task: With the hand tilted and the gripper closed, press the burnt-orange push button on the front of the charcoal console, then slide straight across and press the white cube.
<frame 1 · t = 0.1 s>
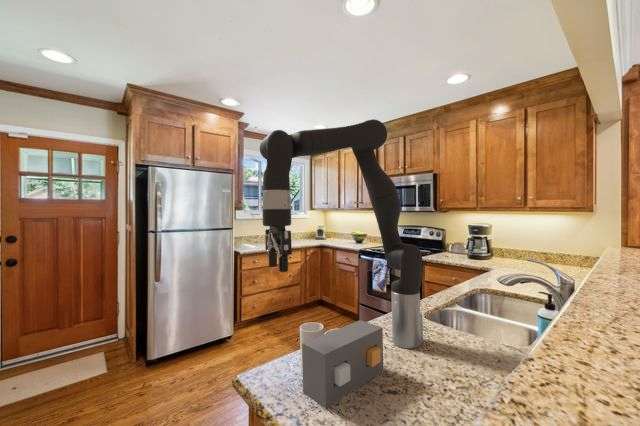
hand: (277, 269, 75), 29 cm above the countertop, tool pointing down, fingers open, 8 cm apart
orange button: (371, 355, 75), point 6 cm above the countertop, slide at 0.0 cm
ramekin: (341, 351, 90), on the countertop
console: (345, 381, 73), on the countertop
mug: (310, 367, 81), on the countertop
white cube: (339, 372, 67), point 6 cm above the countertop, slide at 0.0 cm
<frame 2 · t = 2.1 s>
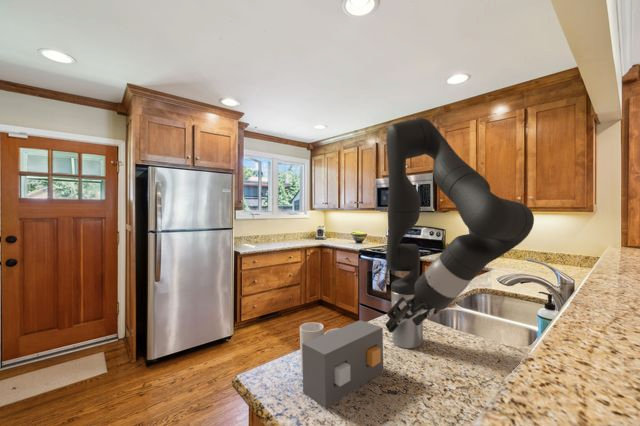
hand: (402, 325, 65), 17 cm above the countertop, tool tilted 40°, fingers open, 8 cm apart
nothing on the countertop moved.
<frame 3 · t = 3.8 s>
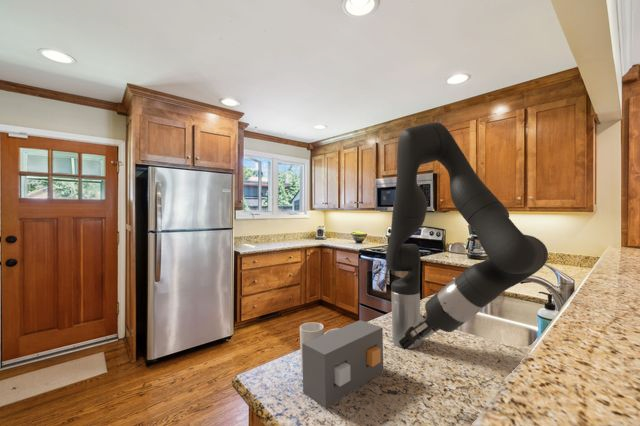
hand: (402, 345, 68), 12 cm above the countertop, tool tilted 45°, fingers closed
nothing on the countertop moved.
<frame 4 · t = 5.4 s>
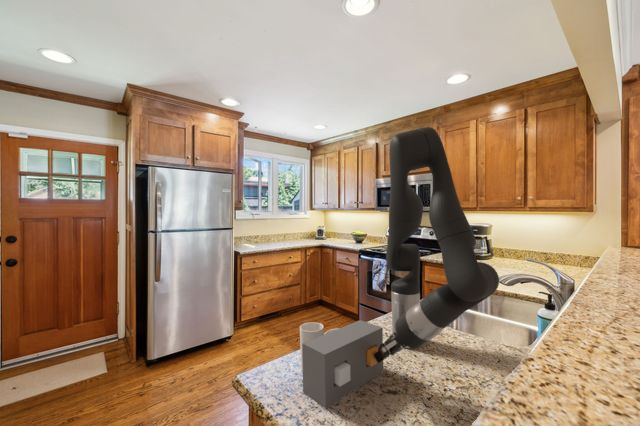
hand: (377, 358, 73), 6 cm above the countertop, tool tilted 45°, fingers closed
orange button: (369, 354, 75), point 6 cm above the countertop, slide at 0.4 cm, touching gripper
everything else where it was.
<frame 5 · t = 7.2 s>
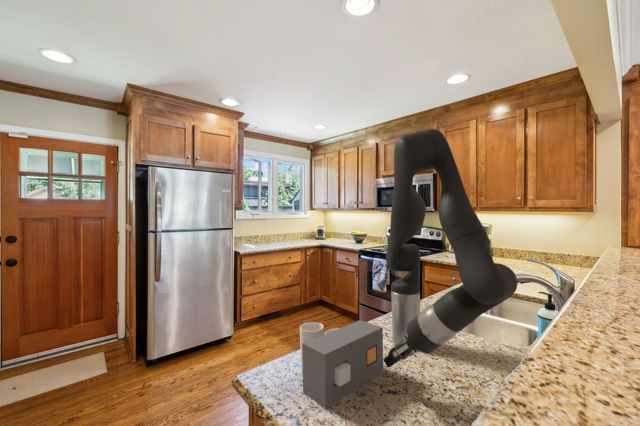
hand: (387, 362, 71), 6 cm above the countertop, tool tilted 45°, fingers closed
orange button: (366, 353, 76), point 6 cm above the countertop, slide at 1.5 cm, touching console
everything else where it was.
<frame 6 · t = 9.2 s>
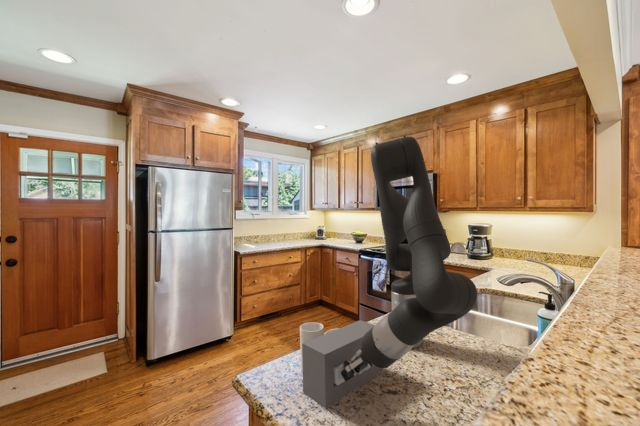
hand: (345, 376, 66), 6 cm above the countertop, tool tilted 45°, fingers closed
white cube: (337, 371, 67), point 6 cm above the countertop, slide at 0.7 cm, touching gripper
everything else where it was.
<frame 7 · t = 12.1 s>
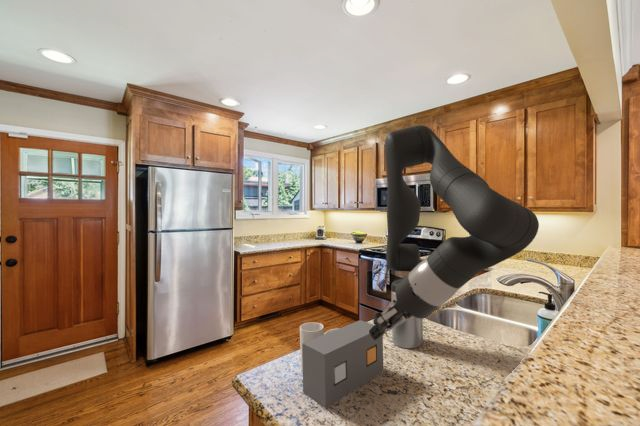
hand: (373, 335, 59), 18 cm above the countertop, tool tilted 45°, fingers closed
white cube: (335, 370, 68), point 6 cm above the countertop, slide at 1.5 cm, touching console
everything else where it was.
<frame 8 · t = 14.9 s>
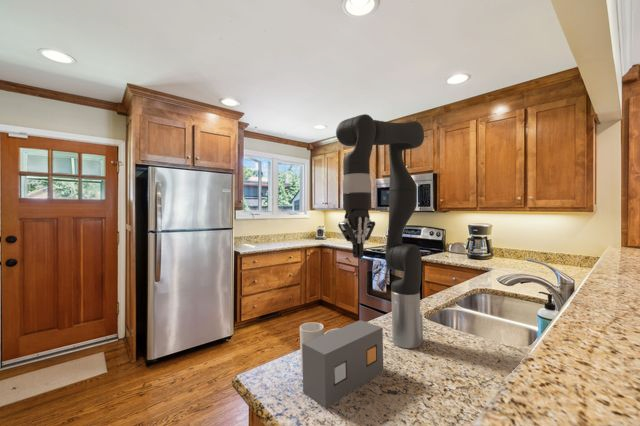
hand: (358, 257, 75), 32 cm above the countertop, tool pointing down, fingers closed
nothing on the countertop moved.
at the end: orange button slide at 1.5 cm; white cube slide at 1.5 cm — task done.
